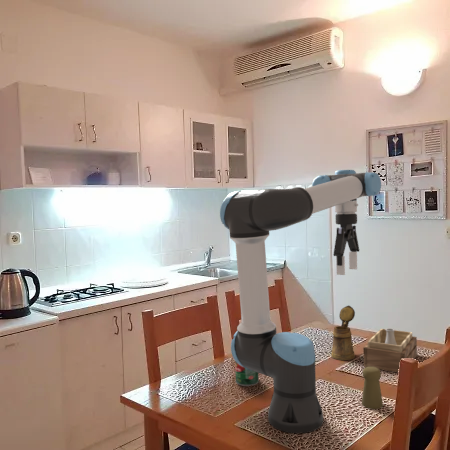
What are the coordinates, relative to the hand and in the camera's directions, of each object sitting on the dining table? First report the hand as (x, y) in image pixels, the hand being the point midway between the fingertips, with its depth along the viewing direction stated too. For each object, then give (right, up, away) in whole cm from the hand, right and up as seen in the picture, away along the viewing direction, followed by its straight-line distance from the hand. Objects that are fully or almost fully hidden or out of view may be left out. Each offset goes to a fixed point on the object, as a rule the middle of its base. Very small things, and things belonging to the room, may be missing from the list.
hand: (347, 271), depth 168 cm
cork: (-1, -36, -30) cm, 47 cm away
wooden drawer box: (+17, -33, +4) cm, 38 cm away
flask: (+17, -32, +4) cm, 36 cm away
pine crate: (+17, -33, +4) cm, 38 cm away
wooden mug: (+2, -34, +13) cm, 36 cm away
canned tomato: (-37, -37, -10) cm, 53 cm away
